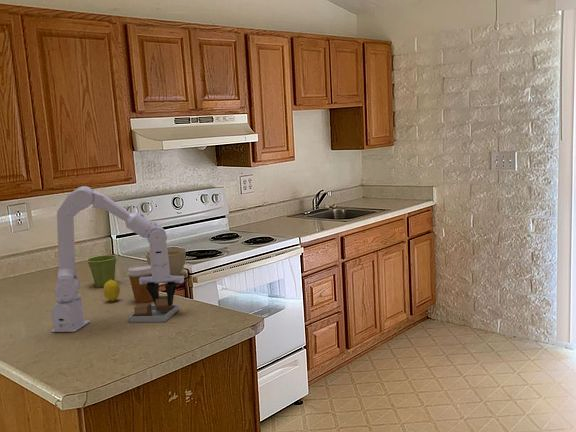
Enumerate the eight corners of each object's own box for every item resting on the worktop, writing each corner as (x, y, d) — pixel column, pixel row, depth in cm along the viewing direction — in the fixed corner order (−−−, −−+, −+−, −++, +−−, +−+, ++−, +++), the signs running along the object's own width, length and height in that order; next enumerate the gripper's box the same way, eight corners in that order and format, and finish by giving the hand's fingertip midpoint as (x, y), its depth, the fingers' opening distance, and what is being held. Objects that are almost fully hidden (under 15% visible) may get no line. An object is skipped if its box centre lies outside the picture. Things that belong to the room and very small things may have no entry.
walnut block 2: (168, 311, 183) (167, 299, 183) (156, 311, 184) (155, 299, 183) (172, 307, 187) (171, 295, 187) (161, 307, 188) (160, 295, 187)
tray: (165, 322, 177) (164, 316, 176) (129, 322, 179) (128, 317, 179) (179, 310, 188) (178, 304, 188) (144, 310, 191) (144, 305, 190)
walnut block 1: (147, 319, 179) (146, 307, 179) (135, 319, 180) (134, 307, 180) (152, 315, 183) (151, 303, 183) (140, 315, 184) (139, 303, 183)
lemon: (116, 303, 202) (113, 281, 201) (101, 303, 203) (99, 281, 202) (123, 298, 207) (121, 277, 206) (109, 299, 209) (107, 277, 208)
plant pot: (83, 289, 227) (79, 261, 225) (101, 281, 238) (98, 254, 236) (108, 289, 223) (105, 261, 221) (126, 281, 234) (123, 254, 233)
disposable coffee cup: (163, 297, 206) (159, 264, 205) (148, 304, 197) (145, 270, 196) (140, 296, 209) (136, 264, 208) (125, 304, 200) (121, 270, 199)
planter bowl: (140, 279, 236) (138, 253, 235) (174, 271, 247) (171, 246, 246) (162, 284, 225) (159, 257, 223) (196, 275, 236) (193, 249, 234)
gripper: (185, 260, 186) (189, 300, 188) (143, 261, 189) (148, 301, 190) (177, 265, 179) (182, 307, 181) (134, 266, 182) (139, 308, 184)
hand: (164, 304), depth 185 cm, fingers closed on walnut block 2, 4 cm apart
